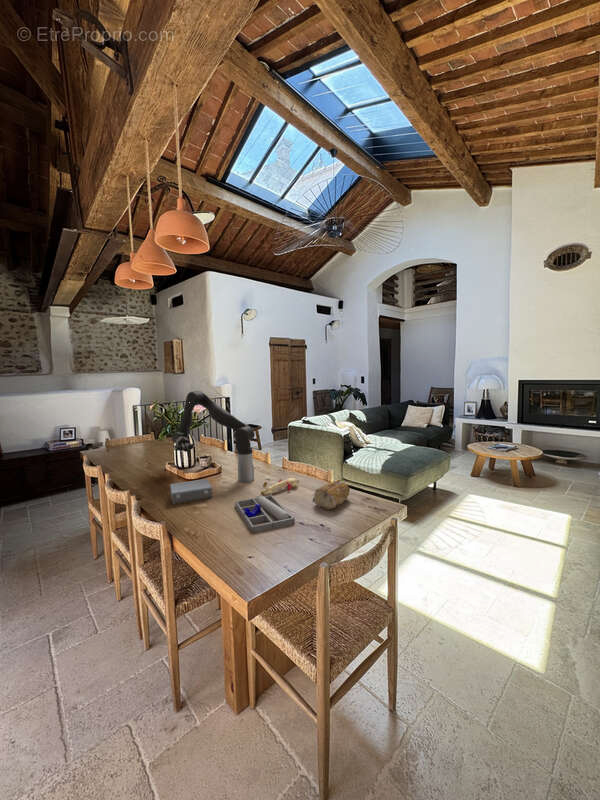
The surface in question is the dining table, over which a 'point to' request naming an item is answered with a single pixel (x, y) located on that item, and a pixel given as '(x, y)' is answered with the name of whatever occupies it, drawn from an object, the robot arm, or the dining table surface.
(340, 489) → the petrified wood
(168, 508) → the dining table surface
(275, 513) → the tube
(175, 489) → the cover
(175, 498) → the dark grey box
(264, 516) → the desk organiser
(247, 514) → the cable holder
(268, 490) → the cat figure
